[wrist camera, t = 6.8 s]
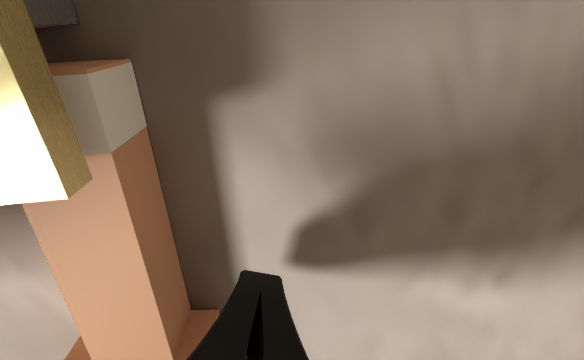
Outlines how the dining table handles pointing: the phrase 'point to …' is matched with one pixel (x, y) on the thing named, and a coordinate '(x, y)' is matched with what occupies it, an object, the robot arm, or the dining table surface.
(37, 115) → the stand
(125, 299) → the link
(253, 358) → the robot arm
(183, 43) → the dining table surface
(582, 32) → the dining table surface
